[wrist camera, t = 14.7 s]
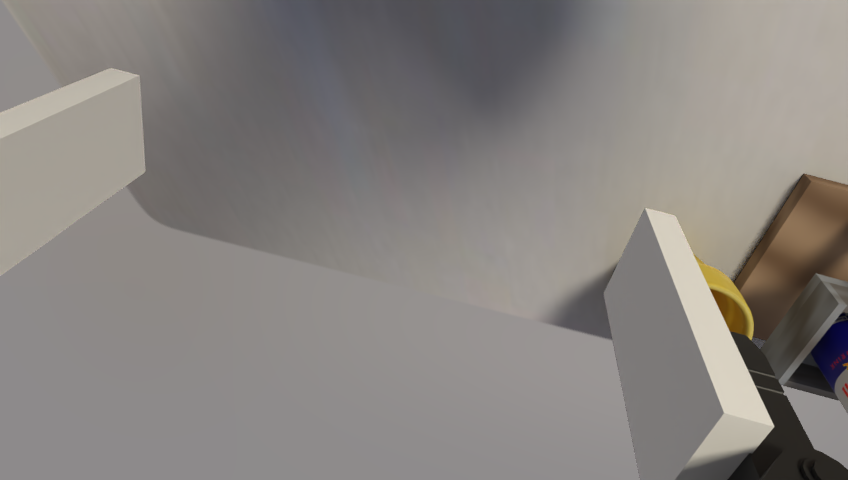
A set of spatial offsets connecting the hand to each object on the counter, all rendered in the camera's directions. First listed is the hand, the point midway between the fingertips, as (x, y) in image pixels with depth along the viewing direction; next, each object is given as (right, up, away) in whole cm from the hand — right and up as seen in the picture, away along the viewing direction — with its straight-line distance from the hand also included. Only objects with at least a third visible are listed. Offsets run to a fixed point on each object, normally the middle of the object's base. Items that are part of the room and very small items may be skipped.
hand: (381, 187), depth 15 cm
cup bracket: (+37, -4, +37) cm, 52 cm away
